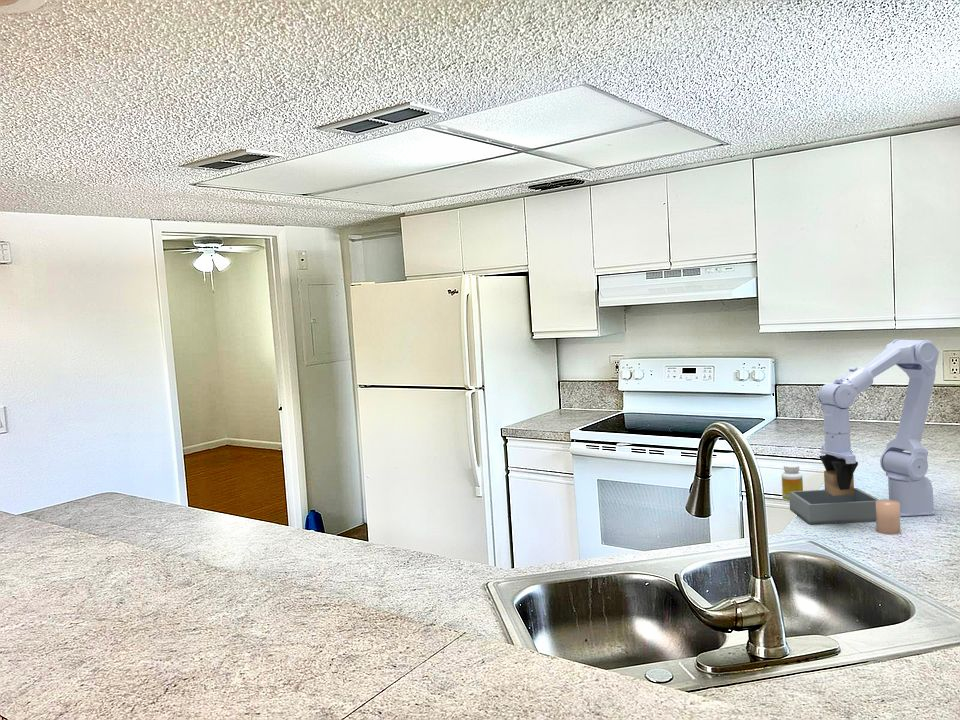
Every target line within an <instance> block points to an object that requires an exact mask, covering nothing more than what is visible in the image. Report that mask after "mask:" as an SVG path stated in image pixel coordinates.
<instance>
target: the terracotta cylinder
mask: <svg viewBox="0 0 960 720" xmlns="http://www.w3.org/2000/svg"><path fill="white" fill-rule="evenodd" d="M875 523H876V527H875V528H876V532H878V533H879V534H884V535H898V534H900V533H901V516H900V503H899V502H898V501H895V500H889V498H887V499H885V498H884V499H883V498H882V499H879V500H876V521H875Z"/></svg>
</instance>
